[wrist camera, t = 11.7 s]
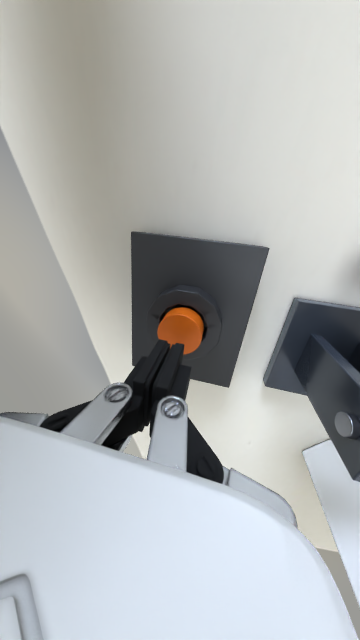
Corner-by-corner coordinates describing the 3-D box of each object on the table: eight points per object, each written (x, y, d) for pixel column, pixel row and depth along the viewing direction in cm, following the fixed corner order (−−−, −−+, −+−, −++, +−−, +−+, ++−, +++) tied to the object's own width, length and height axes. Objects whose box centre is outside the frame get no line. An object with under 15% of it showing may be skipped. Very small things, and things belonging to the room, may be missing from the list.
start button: (164, 303, 16) (158, 310, 14) (206, 310, 15) (205, 319, 14) (162, 339, 17) (156, 350, 16) (200, 347, 17) (198, 358, 15)
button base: (143, 232, 18) (120, 230, 14) (262, 246, 16) (275, 249, 12) (141, 352, 24) (124, 376, 20) (228, 371, 22) (229, 401, 18)
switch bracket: (294, 297, 17) (385, 373, 8) (405, 314, 16) (684, 432, 6) (262, 378, 22) (295, 494, 12) (348, 397, 20) (462, 543, 11)
